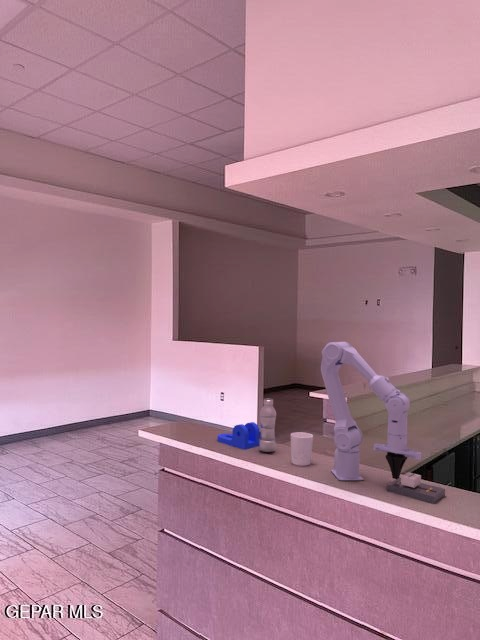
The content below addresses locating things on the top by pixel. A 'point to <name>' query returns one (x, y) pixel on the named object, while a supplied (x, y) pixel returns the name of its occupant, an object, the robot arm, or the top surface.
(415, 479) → the fader knob
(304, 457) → the white cup
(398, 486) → the strip
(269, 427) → the plastic bottle
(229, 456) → the top surface
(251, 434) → the bracket
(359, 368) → the robot arm
